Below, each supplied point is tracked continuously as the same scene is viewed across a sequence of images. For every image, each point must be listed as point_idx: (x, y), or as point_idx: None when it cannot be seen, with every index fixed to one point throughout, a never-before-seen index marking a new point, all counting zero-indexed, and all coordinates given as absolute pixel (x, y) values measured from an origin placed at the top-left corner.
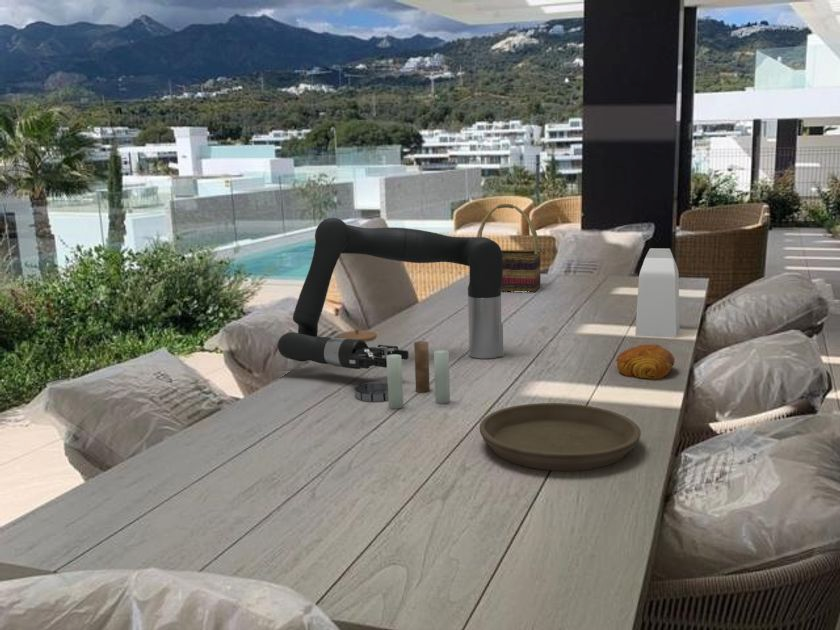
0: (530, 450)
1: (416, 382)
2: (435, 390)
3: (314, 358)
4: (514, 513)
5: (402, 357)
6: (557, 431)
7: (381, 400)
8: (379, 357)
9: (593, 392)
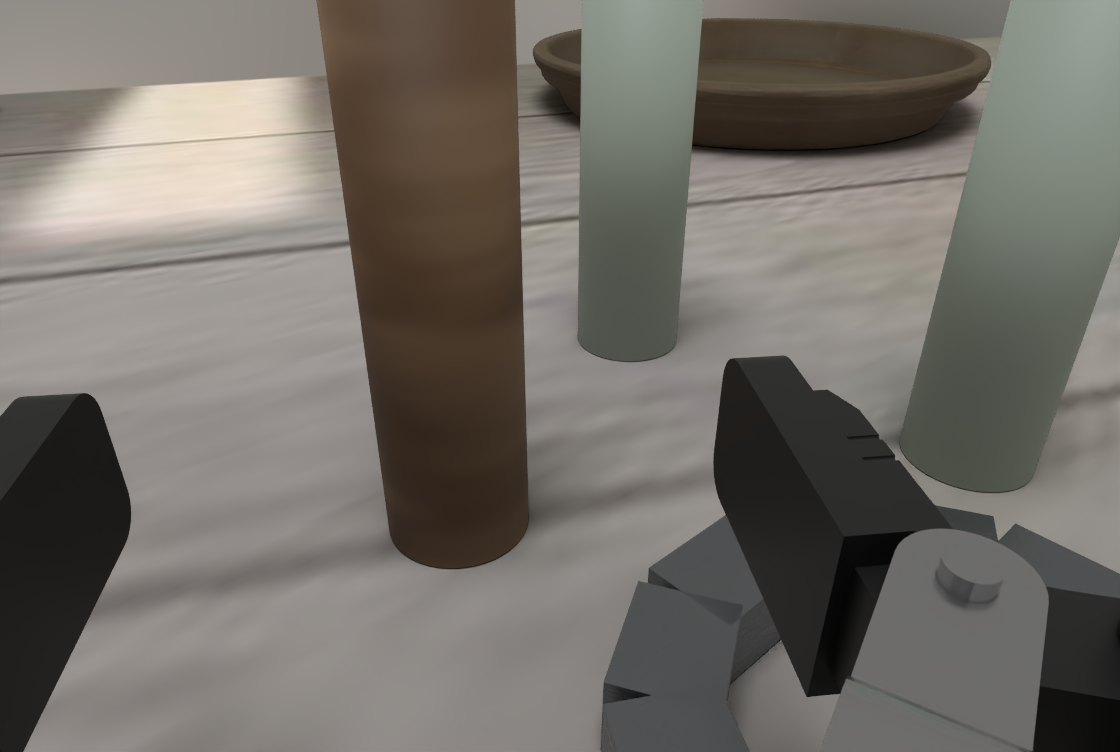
0: (946, 37)
1: (519, 459)
2: (676, 270)
3: None
4: None
5: (91, 566)
6: None
7: None
8: (825, 479)
9: (192, 141)
